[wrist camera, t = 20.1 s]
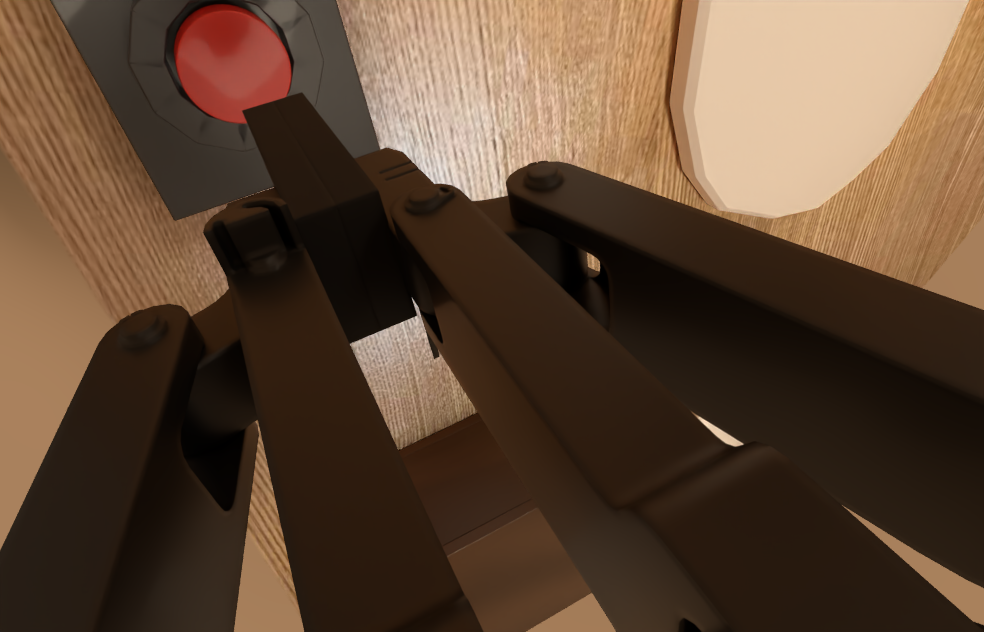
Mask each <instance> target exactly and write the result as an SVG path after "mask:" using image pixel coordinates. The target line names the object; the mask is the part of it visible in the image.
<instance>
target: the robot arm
mask: <svg viewBox="0 0 984 632" xmlns="http://www.w3.org/2000/svg"><path fill="white" fill-rule="evenodd" d="M242 112H243V114H244V117H245V119H246V121H247V124H248V126H249V128H250V131H251V133H252V136H253V138H254V140H255V143H256V145H257V147H258V150H259V152H260V154H261V157H262V159H263V161H264V164H265V166H266V168H267V171H268V173H269V175H270V178H271V180H272V182H273V185H274V187H275V188H272V189H269V190H266V191H263V192H260V193H257V194H254V195H251V196H248V197H246V198H243V199H240V200H237V201H234V202H231V203H228V205H227V207H226V208H225V209H224V210H222V211H221V212H219V213H218V214H216V215H214V216H213V217H212V218H211V219H210V220H209V221H208V222H207V224H206V225H205V228H204V232H203V233H204V235H205V237H206V239H207V241H208V243H209V245H210V246H211V248H212V250H213V252H214V254H215V256H216V258H217V259H218V261H219V263H220V265H221V267H222V269H223V271H224V272H225V274H226V276H227V281H228V286H229V289H228V290H227V292H226V293H225V294H224V295H223V296H222V297H221V298H219V299H218V300H217V301H216V302H214V303H213V304H211V305H210V306H208V307H207V308H205V309H204V310H202V311H200V312H198V313H197V314H195V315H193V316H192V317H191V316H190V315H189V313H188V312H187V311H186V310H185V309H184V308H183V307H182V306H178V305H172V304H166V305H159V306H153V307H150V308H147V309H144V310H139V311H136V312H134V313H132V314H131V316H129V315H128V316H126V317H125V318H123V319H122V320H120V321H119V323H118V324H116V325H115V326H114V327H113V328H111V329H110V330H109V331H108V332H107V333H106V334H105V336H104V337H103V338H102V340H101V341H100V342H99V344H98V346H97V348H96V350H95V353H94V354H93V357H92V359H91V361H90V363H89V365H88V367H87V370H86V371H85V374H84V376H83V378H82V380H81V382H80V384H79V386H78V388H77V390H76V392H75V394H74V397H73V399H72V401H71V403H70V405H69V407H68V409H67V412H66V414H65V416H64V418H63V420H62V422H61V424H60V426H59V428H58V430H57V432H56V435H55V437H54V439H53V441H52V443H51V445H50V447H49V449H48V451H47V454H46V455H45V458H44V460H43V462H42V464H41V466H40V468H39V470H38V472H37V474H36V477H35V479H34V481H33V483H32V485H31V487H30V489H29V491H28V493H27V495H26V498H25V500H24V502H23V504H22V506H21V508H20V510H19V513H18V514H17V517H16V519H15V521H14V523H13V525H12V527H11V529H10V532H9V533H8V535H7V538H6V540H5V542H4V544H3V546H2V548H1V550H0V632H234V625H235V617H236V609H237V601H238V594H239V586H240V578H241V570H242V562H243V554H244V546H245V538H246V531H247V523H248V515H249V507H250V499H251V492H252V484H253V476H254V468H255V460H256V452H257V445H258V437H259V433H258V426H257V424H256V422H255V421H256V420H258V422H259V427H260V431H261V436H262V441H263V445H264V450H265V454H266V459H267V463H268V468H269V472H270V477H271V482H272V486H273V491H274V495H275V500H276V504H277V509H278V513H279V518H280V523H281V527H282V532H283V536H284V541H285V545H286V550H287V554H288V559H289V564H290V568H291V573H292V577H293V582H294V586H295V591H296V595H297V600H298V605H299V609H300V614H301V618H302V623H303V627H304V632H484V631H483V629H482V627H481V625H480V623H479V621H478V619H477V616H476V614H475V612H474V610H473V608H472V606H471V604H470V602H469V600H468V598H467V597H466V596H465V594H464V592H463V590H462V588H461V586H460V584H459V582H458V580H457V578H456V575H455V573H454V571H453V569H452V567H451V564H450V562H449V560H448V558H447V556H446V554H445V551H444V549H443V547H442V545H441V543H440V540H439V538H438V536H437V534H436V532H435V530H434V527H433V525H432V523H431V521H430V519H429V516H428V514H427V512H426V510H425V508H424V505H423V503H422V501H421V499H420V497H419V495H418V492H417V490H416V488H415V486H414V484H413V481H412V479H411V477H410V475H409V473H408V471H407V468H406V466H405V464H404V462H403V460H402V457H401V455H400V453H399V451H398V449H397V446H396V444H395V442H394V440H393V438H392V436H391V433H390V431H389V429H388V427H387V425H386V422H385V420H384V418H383V416H382V414H381V412H380V409H379V407H378V405H377V403H376V401H375V398H374V396H373V394H372V392H371V390H370V388H369V385H368V383H367V381H366V379H365V377H364V374H363V372H362V370H361V368H360V366H359V363H358V361H357V359H356V357H355V355H354V353H353V350H352V348H351V346H350V343H352V342H355V341H357V340H360V339H362V338H365V337H367V336H369V335H372V334H374V333H377V332H379V331H381V330H384V329H386V328H389V327H391V326H393V325H396V324H398V323H401V322H403V321H405V320H408V319H410V318H413V317H415V316H417V314H416V310H415V307H414V304H413V301H412V298H413V300H414V301H415V303H416V304H417V306H418V307H419V310H420V314H421V317H422V320H423V323H424V327H425V330H426V333H427V337H428V340H429V343H430V347H431V350H432V353H433V356H434V359H435V358H437V357H440V356H439V352H440V353H441V355H442V356H443V358H444V360H445V361H446V363H447V364H448V366H449V368H450V369H451V371H452V372H453V374H454V375H455V377H456V379H457V380H458V382H459V383H460V385H461V386H462V388H463V390H464V391H465V393H466V394H467V396H468V398H469V399H470V401H471V402H472V404H473V405H474V407H475V409H476V410H477V412H478V413H479V415H480V417H481V418H482V420H483V421H484V423H485V424H486V426H487V428H488V429H489V431H490V432H491V434H492V435H493V437H494V439H495V440H496V442H497V443H498V445H499V447H500V448H501V450H502V451H503V453H504V454H505V456H506V458H507V459H508V461H509V462H510V464H511V465H512V467H513V469H514V470H515V472H516V473H517V475H518V477H519V478H520V480H521V481H522V483H523V484H524V486H525V488H526V489H527V491H528V492H529V494H530V495H531V497H532V499H533V500H534V502H535V503H536V505H537V507H538V508H539V510H540V511H541V513H542V514H543V516H544V518H545V519H546V521H547V522H548V524H549V526H550V527H551V529H552V530H553V532H554V533H555V535H556V537H557V538H558V540H559V541H560V543H561V544H562V546H563V548H564V549H565V551H566V552H567V554H568V556H569V557H570V559H571V560H572V562H573V563H574V565H575V567H576V568H577V570H578V571H579V573H580V574H581V576H582V578H583V579H584V581H585V582H586V584H587V586H588V587H589V589H590V590H591V592H592V593H593V595H594V596H595V598H596V600H597V601H598V603H599V604H600V606H601V608H602V609H603V611H604V612H605V614H606V616H607V617H608V619H609V620H610V622H611V623H612V625H613V627H614V629H615V630H616V632H984V625H981V624H979V623H976V622H973V621H972V620H971V619H969V618H968V617H967V616H966V615H965V614H964V613H962V612H961V611H960V610H959V609H958V608H957V607H956V606H955V605H954V604H952V603H951V602H950V601H949V600H948V599H947V598H946V597H945V596H944V595H942V594H941V593H940V592H939V591H938V590H937V589H936V588H934V587H933V586H932V585H931V584H930V583H929V582H928V581H927V580H925V579H924V578H923V577H922V576H921V575H920V574H919V573H918V572H916V571H915V570H914V569H913V568H912V567H911V566H910V565H909V564H907V563H906V562H905V561H904V560H903V559H902V558H900V557H899V556H898V555H897V554H896V553H895V552H894V551H893V550H892V549H890V548H889V547H888V546H887V545H886V544H885V543H884V542H883V541H881V540H880V539H879V538H878V537H877V536H876V535H875V534H874V533H872V532H871V531H870V530H869V529H868V528H867V527H866V526H865V525H863V524H862V523H861V522H860V521H859V520H858V519H857V518H856V517H854V516H853V515H852V514H851V513H850V512H849V511H848V510H847V509H845V508H844V507H843V506H845V507H846V508H848V509H850V510H851V511H853V512H854V513H856V514H858V515H859V516H861V517H862V518H864V519H866V520H867V521H869V522H870V523H872V524H874V525H875V526H877V527H878V528H880V529H882V530H883V531H885V532H887V533H888V534H890V535H892V536H893V537H895V538H896V539H898V540H899V541H901V542H903V543H904V544H906V545H908V546H909V547H911V548H913V549H914V550H916V551H917V552H919V553H921V554H923V555H924V556H926V557H928V558H930V559H931V560H933V561H935V562H937V563H938V564H940V565H942V566H943V567H945V568H947V569H949V570H950V571H952V572H954V573H956V574H958V575H959V576H961V577H963V578H965V579H966V580H968V581H971V582H973V583H974V584H977V585H979V586H981V587H983V588H984V310H982V309H979V308H976V307H973V306H970V305H968V304H965V303H962V302H959V301H956V300H954V299H951V298H948V297H945V296H942V295H939V294H936V293H934V292H931V291H928V290H925V289H923V288H920V287H917V286H914V285H911V284H908V283H906V282H903V281H900V280H897V279H894V278H891V277H889V276H886V275H883V274H880V273H877V272H874V271H872V270H869V269H866V268H863V267H860V266H857V265H855V264H852V263H849V262H846V261H843V260H840V259H838V258H835V257H832V256H829V255H826V254H823V253H821V252H818V251H815V250H812V249H809V248H806V247H804V246H801V245H798V244H795V243H792V242H789V241H787V240H784V239H781V238H778V237H775V236H773V235H770V234H767V233H764V232H761V231H758V230H756V229H753V228H750V227H747V226H744V225H741V224H739V223H736V222H733V221H730V220H727V219H724V218H722V217H719V216H716V215H713V214H710V213H707V212H705V211H702V210H699V209H696V208H693V207H690V206H688V205H685V204H682V203H679V202H676V201H673V200H671V199H668V198H665V197H662V196H659V195H656V194H654V193H651V192H648V191H645V190H642V189H639V188H637V187H634V186H631V185H628V184H625V183H623V182H620V181H617V180H614V179H611V178H608V177H606V176H603V175H600V174H597V173H594V172H591V171H589V170H586V169H583V168H580V167H577V166H574V165H572V164H568V163H563V162H548V161H539V162H538V163H536V162H535V163H531V164H528V166H525V167H523V168H520V169H518V170H517V171H515V172H514V173H512V174H511V175H510V176H509V178H508V179H507V181H506V187H507V193H508V196H505V197H499V198H494V199H489V200H482V201H471V200H470V199H469V198H468V197H467V196H466V195H465V194H464V193H463V192H462V191H461V190H460V189H458V188H456V187H454V186H452V185H446V184H434V183H433V182H432V181H431V180H430V179H429V178H428V177H427V176H426V175H425V174H424V173H423V172H422V171H421V170H420V169H418V167H417V166H416V165H415V164H414V163H413V162H412V161H411V160H410V159H409V158H408V157H407V156H406V155H405V154H404V153H403V152H400V151H397V150H393V149H390V148H384V149H381V150H378V151H375V152H372V153H369V154H366V155H364V156H361V157H358V158H355V159H354V158H353V157H352V155H351V154H350V153H349V152H348V150H347V149H346V148H345V146H344V145H343V144H342V143H341V141H340V140H339V139H338V138H337V136H336V135H335V134H334V132H333V131H332V130H331V129H330V127H329V126H328V125H327V123H326V122H325V121H324V120H323V118H322V117H321V116H320V114H319V113H318V112H317V111H316V109H315V108H314V107H313V105H312V104H311V103H310V102H309V100H308V99H307V98H306V96H305V95H304V94H303V93H302V92H301V93H298V94H294V95H291V96H288V97H285V98H281V99H278V100H275V101H271V102H268V103H265V104H262V105H258V106H255V107H252V108H248V109H245V110H242ZM587 252H588V253H590V254H592V255H593V256H594V257H596V258H597V259H598V260H599V261H600V272H598V271H595V270H593V269H591V268H589V267H588V261H587ZM438 350H439V352H438ZM692 412H693V413H694V414H696V415H698V416H699V417H701V418H703V419H704V420H706V421H707V422H709V423H711V424H712V425H714V426H715V427H717V428H719V429H720V430H722V431H724V432H725V433H727V434H728V435H730V436H732V437H733V438H735V439H736V440H738V441H740V442H741V443H743V445H739V446H736V447H735V446H732V445H729V444H726V443H725V442H724V441H722V440H721V439H720V438H718V437H717V436H716V435H715V434H714V433H713V432H712V431H711V430H710V429H708V428H707V427H706V426H705V425H704V424H703V423H702V422H701V421H700V420H699V419H698V418H697V417H696V416H695V415H694V414H693V413H692ZM842 505H843V506H842Z"/></svg>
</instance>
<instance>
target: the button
mask: <svg viewBox="0 0 984 632" xmlns="http://www.w3.org/2000/svg"><path fill="white" fill-rule="evenodd" d="M174 58H175V64H176V69H177V73H178V77H179V80H180V82H181V85H182V87H183V88H184V90H185V92H186V93H187V95H188V96H189V98H190V99H191V100H192V101H193V102H194V103H195V104H196V105H197V106H198V107H199V108H200V109H201V110H203V111H204V112H206V113H207V114H209V115H211V116H213V117H215V118H217V119H219V120H222V121H226V122H230V123H241V124H244V123H247V121H246V119H245V117H244V114H243V112H242V110H245V109H248V108H252V107H255V106H258V105H262V104H265V103H268V102H271V101H275V100H278V99H281V98H285V97H286V96H287V94H288V91H289V89H290V84H291V76H292V75H291V64H290V59H289V56H288V53H287V51H286V49H285V46H284V45H283V43H282V41H281V40H280V38H279V37H278V36H277V34H276V33H275V32H274V31H273V30H272V29H271V28H270V27H269V26H268V25H267V24H266V23H265V22H264V21H263V20H262V19H261V18H259V17H258V16H257V15H255V14H254V13H252V12H250V11H248V10H246V9H244V8H241V7H238V6H234V5H228V4H214V5H209V6H206V7H203V8H200V9H198V10H197V11H195V12H193V13H192V14H191V15H189V16H188V17H187V18H186V19H185V20H184V22H183V23H182V25H181V26H180V28H179V30H178V32H177V35H176V38H175V44H174Z"/></svg>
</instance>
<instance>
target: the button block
mask: <svg viewBox="0 0 984 632" xmlns="http://www.w3.org/2000/svg"><path fill="white" fill-rule="evenodd" d="M50 1H51V3H52V5H53V7H54V8H55V10H56V12H57V14H58V15H59V17H60V19H61V21H62V23H63V24H64V26H65V28H66V30H67V31H68V33H69V35H70V37H71V38H72V40H73V42H74V44H75V46H76V47H77V49H78V51H79V53H80V54H81V56H82V58H83V60H84V61H85V63H86V65H87V67H88V69H89V70H90V72H91V74H92V76H93V77H94V79H95V81H96V83H97V84H98V86H99V88H100V90H101V92H102V93H103V95H104V97H105V99H106V100H107V102H108V104H109V106H110V107H111V109H112V111H113V113H114V114H115V116H116V118H117V120H118V122H119V123H120V125H121V127H122V129H123V130H124V132H125V134H126V136H127V137H128V139H129V141H130V143H131V145H132V146H133V148H134V150H135V152H136V153H137V155H138V157H139V159H140V160H141V162H142V164H143V166H144V168H145V169H146V171H147V173H148V175H149V176H150V178H151V180H152V182H153V183H154V185H155V187H156V189H157V191H158V192H159V194H160V196H161V198H162V199H163V201H164V203H165V205H166V206H167V208H168V210H169V212H170V213H171V215H172V217H173V219H174V220H179V219H182V218H185V217H188V216H191V215H194V214H196V213H199V212H202V211H205V210H208V209H211V208H214V207H217V206H220V205H223V204H225V203H228V202H231V201H234V200H237V199H240V198H243V197H246V196H249V195H252V194H255V193H257V192H260V191H263V190H266V189H269V188H272V187H274V185H273V182H272V180H271V178H270V175H269V173H268V171H267V168H266V166H265V164H264V161H263V159H262V157H261V154H260V152H259V150H258V147H257V145H256V143H255V140H254V138H253V136H252V133H251V131H250V128H249V126H248V124H247V123H244V124H241V123H230V122H226V121H222V120H219V119H217V118H215V117H213V116H211V115H209V114H207V113H206V112H204V111H203V110H201V109H200V108H199V107H198V106H197V105H196V104H195V103H194V102H193V101H192V100H191V99H190V98H189V96H188V95H187V93H186V92H185V90H184V88H183V87H182V85H181V82H180V80H179V77H178V73H177V69H176V64H175V58H174V44H175V38H176V35H177V32H178V30H179V28H180V26H181V25H182V23H183V22H184V20H185V19H186V18H187V17H188V16H189V15H191V14H192V13H193V12H195V11H197V10H198V9H200V8H203V7H206V6H209V5H214V4H228V5H234V6H238V7H241V8H244V9H246V10H248V11H250V12H252V13H254V14H255V15H257V16H258V17H259V18H261V19H262V20H263V21H264V22H265V23H266V24H267V25H268V26H269V27H270V28H271V29H272V30H273V31H274V32H275V33H276V34H277V36H278V37H279V38H280V40H281V41H282V43H283V45H284V46H285V49H286V51H287V53H288V56H289V59H290V64H291V75H292V76H291V84H290V89H289V91H288V94H287V96H286V97H288V96H291V95H294V94H298V93H301V92H302V93H303V94H304V95H305V96H306V98H307V99H308V100H309V102H310V103H311V104H312V105H313V107H314V108H315V109H316V111H317V112H318V113H319V114H320V116H321V117H322V118H323V120H324V121H325V122H326V123H327V125H328V126H329V127H330V129H331V130H332V131H333V132H334V134H335V135H336V136H337V138H338V139H339V140H340V141H341V143H342V144H343V145H344V146H345V148H346V149H347V150H348V152H349V153H350V154H351V155H352V157H353V158H354V159H355V158H358V157H361V156H364V155H366V154H369V153H372V152H375V151H378V150H380V147H379V144H378V140H377V137H376V133H375V130H374V127H373V123H372V120H371V117H370V113H369V110H368V106H367V103H366V100H365V96H364V93H363V89H362V86H361V83H360V79H359V76H358V73H357V69H356V66H355V62H354V59H353V56H352V52H351V49H350V46H349V42H348V39H347V35H346V32H345V29H344V25H343V22H342V18H341V15H340V12H339V8H338V5H337V2H336V0H50Z"/></svg>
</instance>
